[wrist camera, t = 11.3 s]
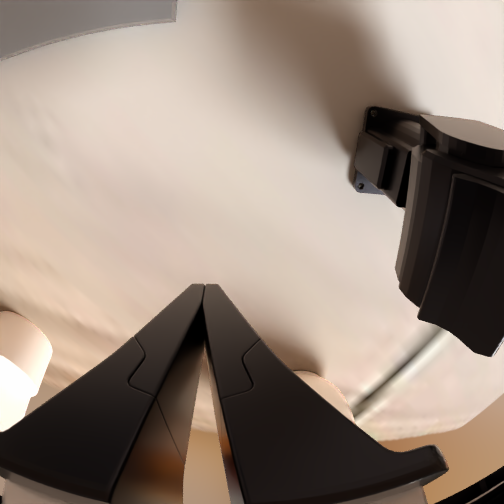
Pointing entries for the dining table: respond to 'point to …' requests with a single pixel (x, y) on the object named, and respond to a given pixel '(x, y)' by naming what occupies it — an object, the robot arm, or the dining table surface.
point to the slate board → (72, 20)
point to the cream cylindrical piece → (20, 365)
